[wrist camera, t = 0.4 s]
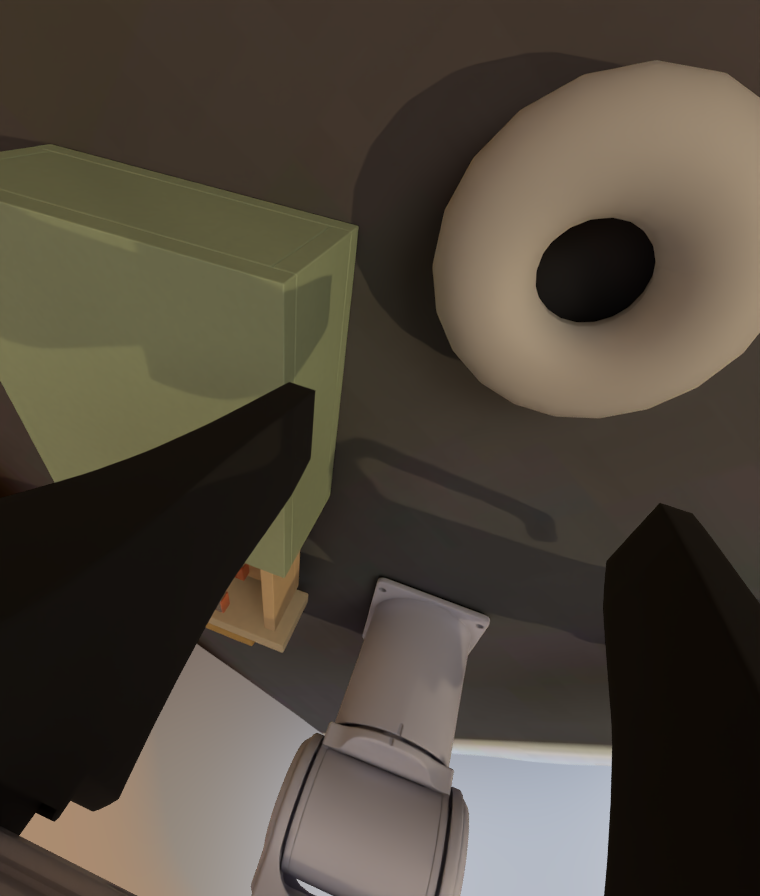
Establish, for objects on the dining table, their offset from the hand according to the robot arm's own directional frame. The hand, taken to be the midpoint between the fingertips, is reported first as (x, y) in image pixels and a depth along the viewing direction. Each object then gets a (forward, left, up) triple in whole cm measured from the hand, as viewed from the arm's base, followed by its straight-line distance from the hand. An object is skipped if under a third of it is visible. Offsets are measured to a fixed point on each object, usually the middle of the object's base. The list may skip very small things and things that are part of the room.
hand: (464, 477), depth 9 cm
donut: (+2, -2, -10) cm, 11 cm away
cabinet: (-7, +13, -10) cm, 18 cm away
